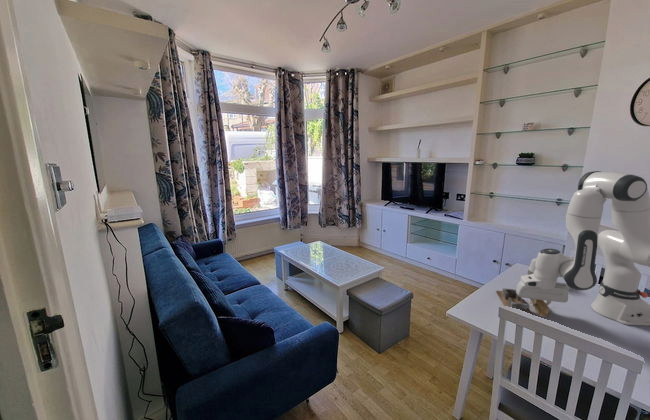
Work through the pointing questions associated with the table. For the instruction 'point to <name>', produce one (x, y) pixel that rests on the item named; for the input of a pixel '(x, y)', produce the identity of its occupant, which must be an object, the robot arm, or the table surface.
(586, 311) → the table surface
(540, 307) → the golden brown block
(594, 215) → the robot arm
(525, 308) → the cap board
